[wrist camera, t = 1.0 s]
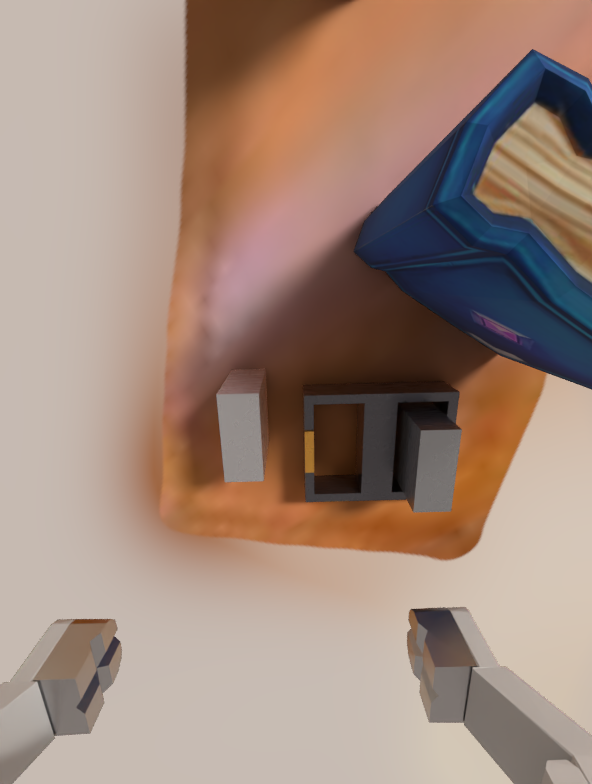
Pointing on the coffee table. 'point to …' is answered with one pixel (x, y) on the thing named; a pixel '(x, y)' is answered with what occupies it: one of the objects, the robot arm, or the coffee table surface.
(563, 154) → the book
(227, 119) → the coffee table surface
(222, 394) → the block
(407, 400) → the rack
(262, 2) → the coffee table surface
